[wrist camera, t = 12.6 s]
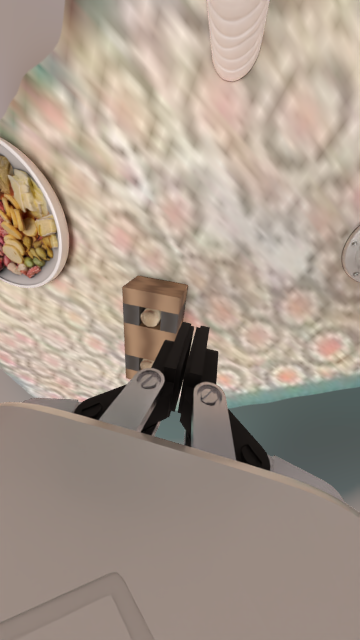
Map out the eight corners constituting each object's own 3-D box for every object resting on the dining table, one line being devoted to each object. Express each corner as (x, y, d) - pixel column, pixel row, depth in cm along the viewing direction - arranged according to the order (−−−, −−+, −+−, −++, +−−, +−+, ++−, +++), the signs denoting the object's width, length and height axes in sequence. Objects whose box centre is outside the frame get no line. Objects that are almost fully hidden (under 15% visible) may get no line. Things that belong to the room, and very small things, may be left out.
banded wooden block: (187, 284, 44) (180, 298, 37) (176, 368, 57) (169, 389, 50) (138, 275, 45) (122, 286, 39) (137, 358, 59) (126, 378, 52)
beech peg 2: (164, 344, 53) (155, 363, 47) (163, 355, 55) (155, 375, 49) (151, 341, 54) (140, 359, 47) (150, 352, 56) (140, 371, 49)
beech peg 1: (169, 298, 46) (159, 312, 40) (167, 312, 48) (158, 328, 42) (153, 295, 47) (140, 308, 40) (152, 309, 49) (140, 325, 42)
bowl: (-40, 92, 36) (-101, 64, 29) (96, 207, 40) (70, 206, 34) (-44, 230, 51) (-85, 233, 44) (56, 302, 55) (32, 315, 49)
